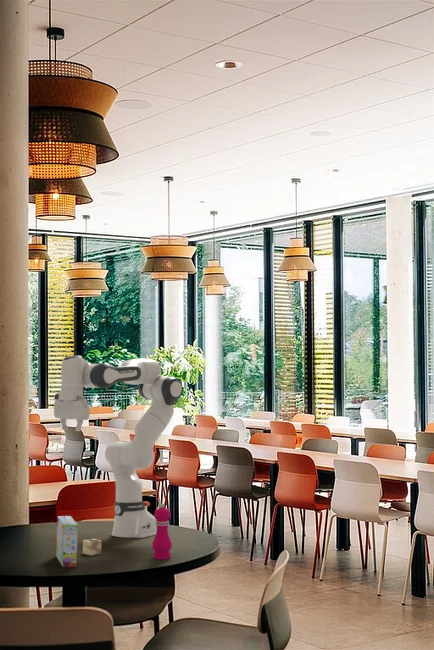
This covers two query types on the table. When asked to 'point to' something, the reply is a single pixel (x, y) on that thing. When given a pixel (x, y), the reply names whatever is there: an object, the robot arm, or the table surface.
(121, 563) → the table surface
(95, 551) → the letter cube
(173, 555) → the table surface
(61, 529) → the snack box
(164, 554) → the pepper mill
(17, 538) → the table surface
